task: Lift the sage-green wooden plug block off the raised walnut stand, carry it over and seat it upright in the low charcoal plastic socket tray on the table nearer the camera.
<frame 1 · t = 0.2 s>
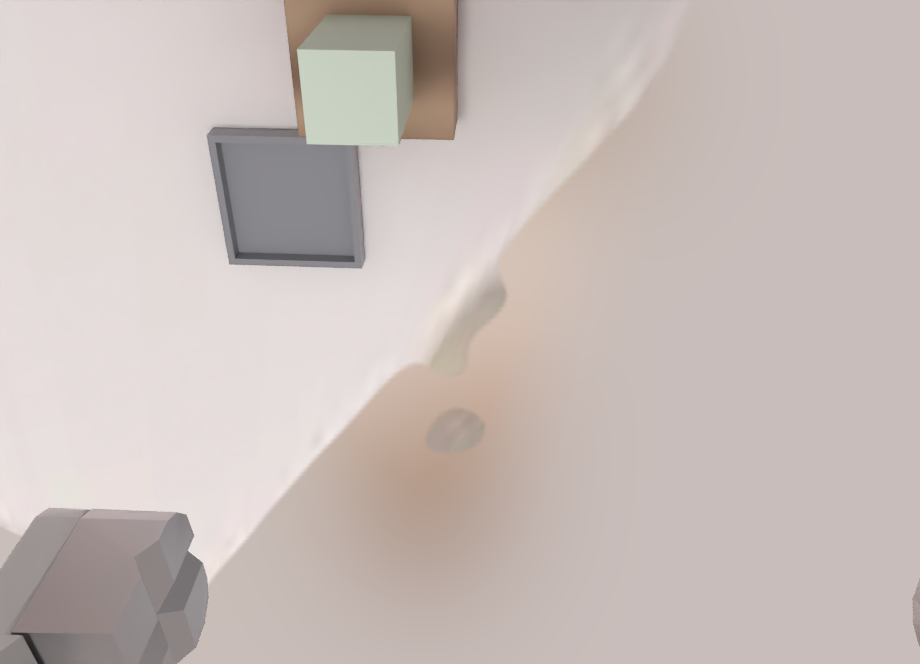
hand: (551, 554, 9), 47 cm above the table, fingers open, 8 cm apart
walnut stand: (380, 41, 52), on the table
charcoal tray: (292, 196, 58), on the table
plug block: (371, 58, 48), point 4 cm above the table, touching walnut stand
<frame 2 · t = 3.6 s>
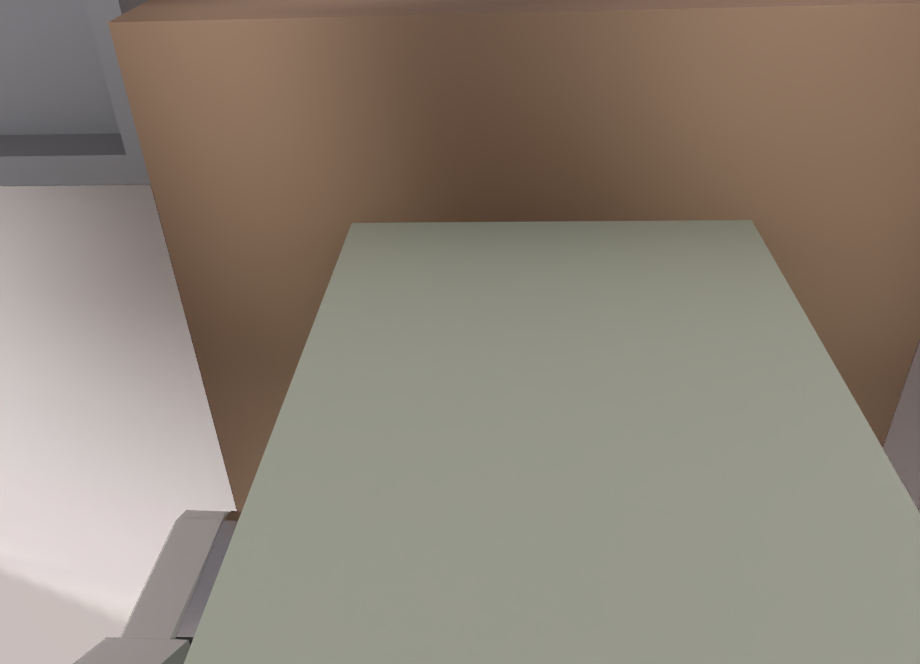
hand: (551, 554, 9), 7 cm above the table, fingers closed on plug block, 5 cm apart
walnut stand: (536, 250, 15), on the table
plug block: (543, 380, 11), point 4 cm above the table, touching gripper, walnut stand
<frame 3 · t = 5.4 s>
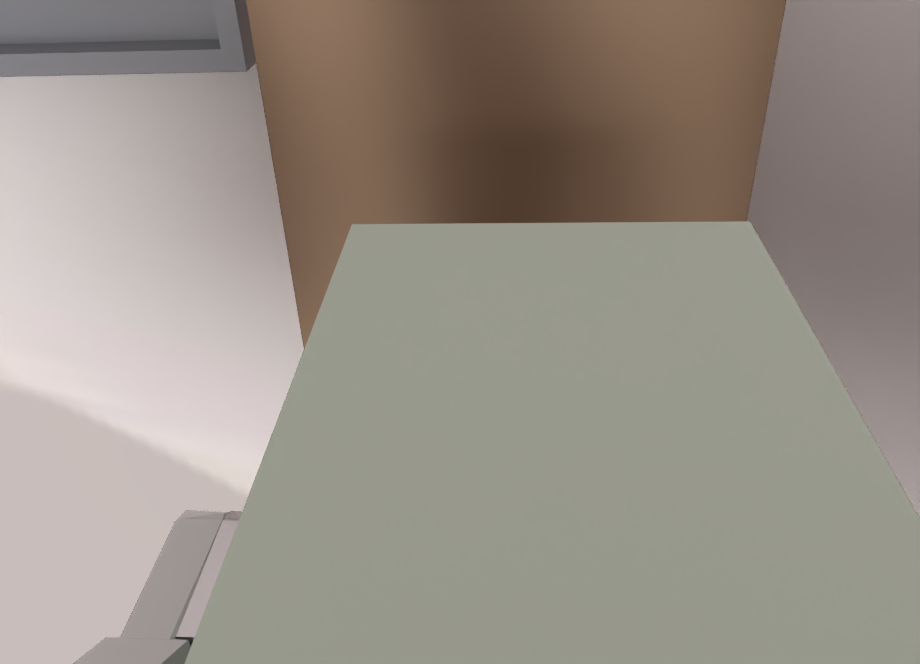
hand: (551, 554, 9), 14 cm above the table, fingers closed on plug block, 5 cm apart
walnut stand: (509, 130, 20), on the table
plug block: (543, 381, 11), point 11 cm above the table, touching gripper
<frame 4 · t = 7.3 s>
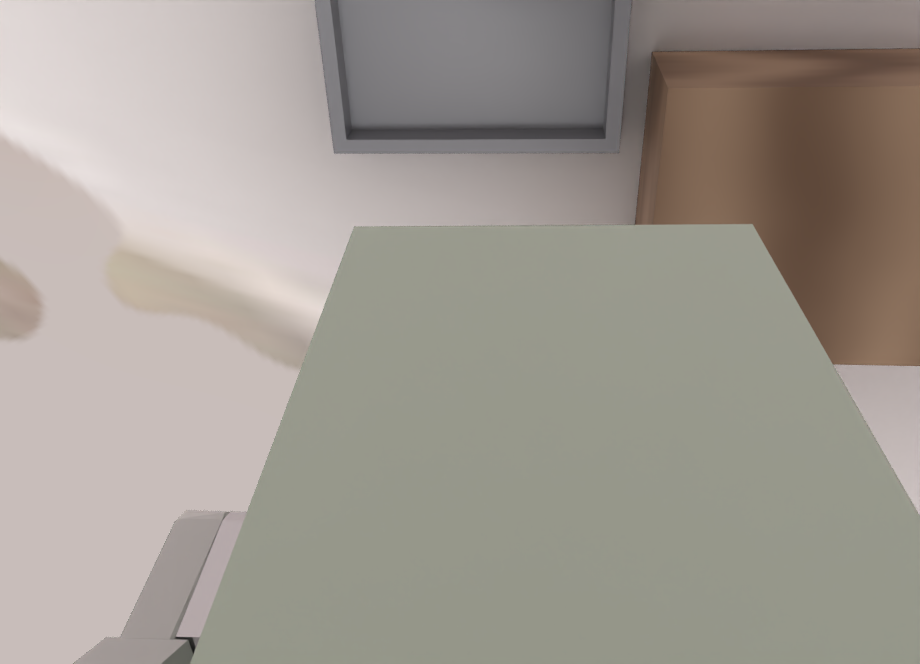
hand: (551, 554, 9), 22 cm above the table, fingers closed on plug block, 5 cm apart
walnut stand: (776, 189, 29), on the table
plug block: (545, 383, 11), point 19 cm above the table, touching gripper
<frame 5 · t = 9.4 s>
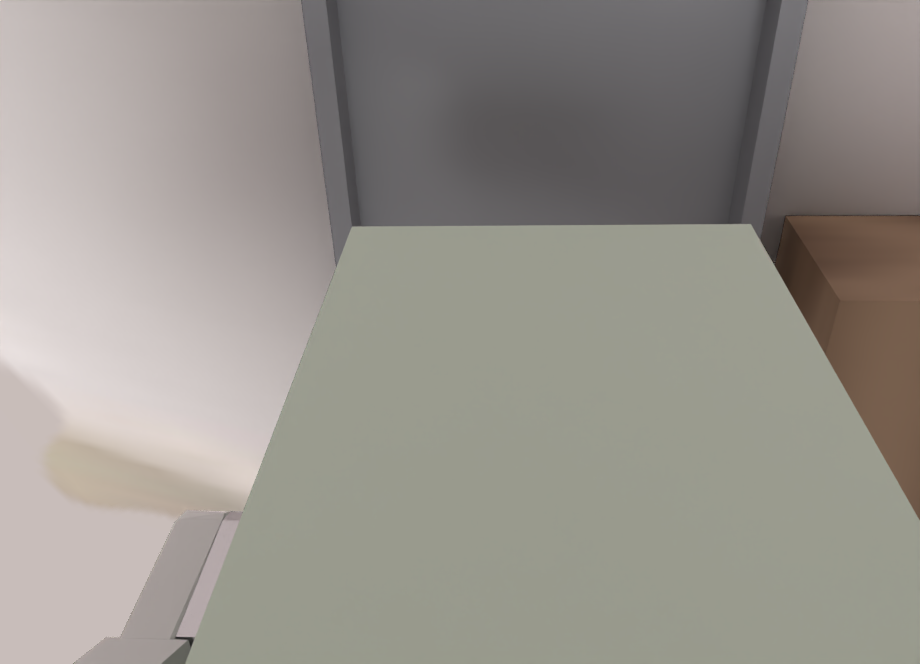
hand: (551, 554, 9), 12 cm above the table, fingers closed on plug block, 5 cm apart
charcoal tray: (543, 138, 19), on the table
plug block: (543, 383, 11), point 9 cm above the table, touching gripper
when the fingers open (5 cm above the table, at t = 11.3 s): plug block stays where it is, resting on charcoal tray.
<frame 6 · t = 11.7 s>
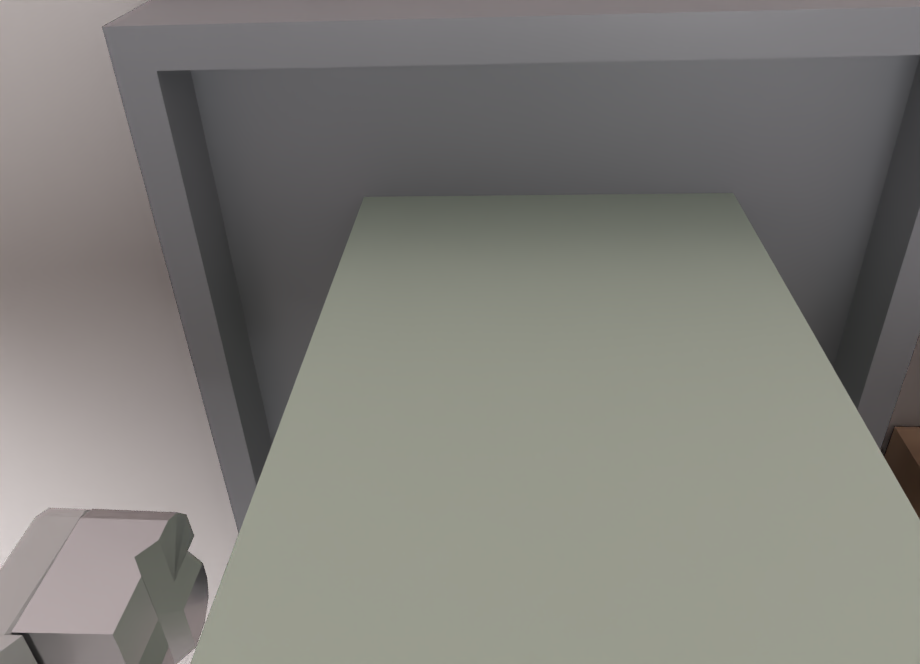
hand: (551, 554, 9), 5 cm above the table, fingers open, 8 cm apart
charcoal tray: (537, 326, 13), on the table
plug block: (541, 346, 12), resting on charcoal tray
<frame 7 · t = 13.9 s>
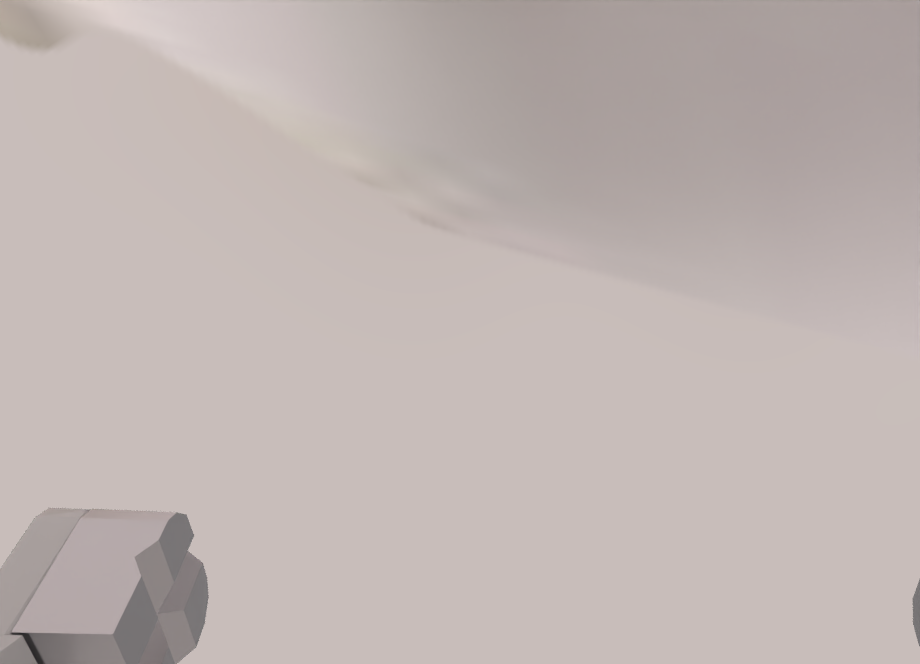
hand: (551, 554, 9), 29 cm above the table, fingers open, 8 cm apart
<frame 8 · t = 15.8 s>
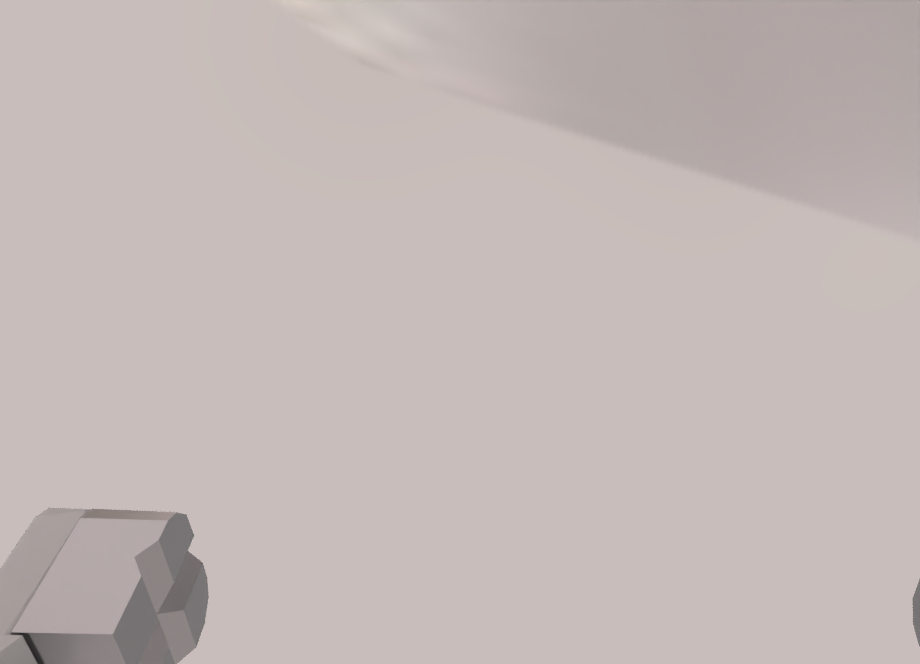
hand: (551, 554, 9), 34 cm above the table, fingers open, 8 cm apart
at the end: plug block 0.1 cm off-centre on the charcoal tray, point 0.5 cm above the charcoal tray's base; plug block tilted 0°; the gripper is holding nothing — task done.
